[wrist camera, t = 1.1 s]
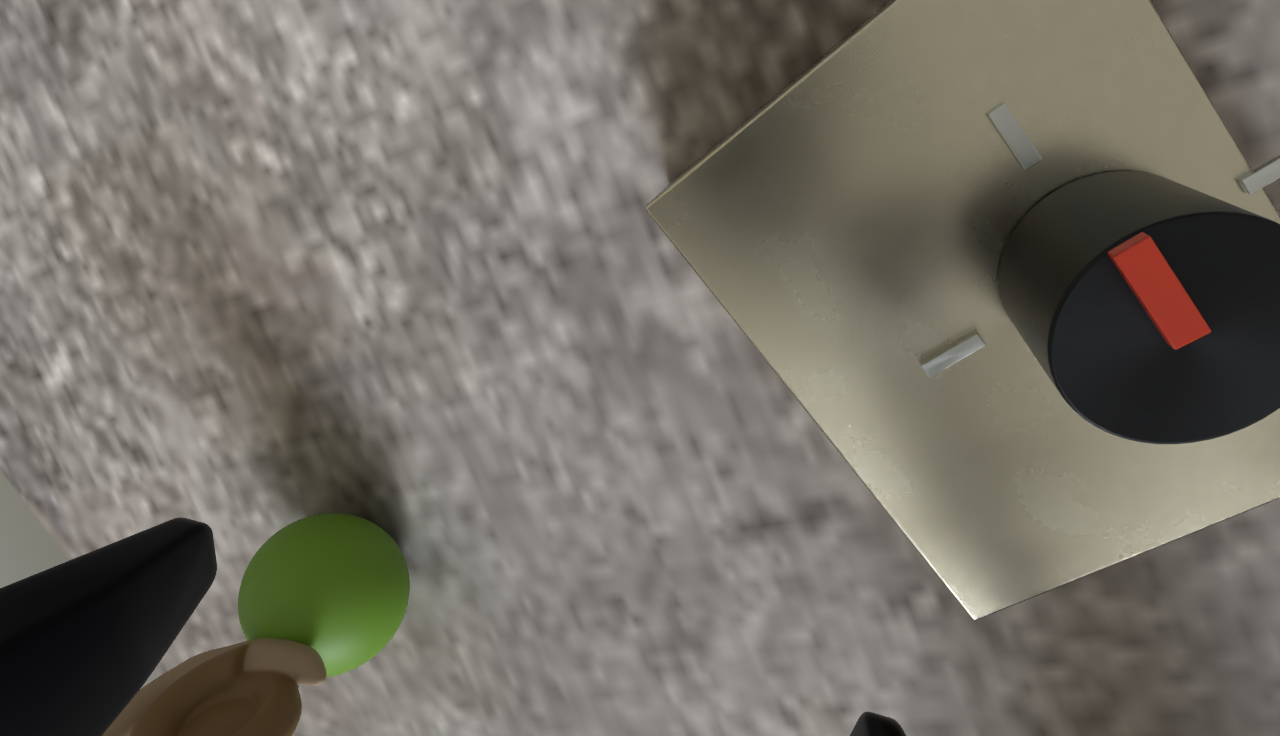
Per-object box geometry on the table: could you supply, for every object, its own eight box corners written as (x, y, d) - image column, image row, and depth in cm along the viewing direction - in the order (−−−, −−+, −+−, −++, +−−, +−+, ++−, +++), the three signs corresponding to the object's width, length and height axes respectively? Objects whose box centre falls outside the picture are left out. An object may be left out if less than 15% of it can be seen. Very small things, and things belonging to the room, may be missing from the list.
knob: (1253, 287, 15) (1402, 373, 11) (1058, 388, 16) (1130, 493, 13) (1152, 127, 14) (1275, 159, 10) (960, 249, 16) (1005, 316, 12)
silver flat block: (1382, 360, 17) (1489, 422, 15) (955, 552, 22) (974, 626, 19) (1076, -154, 15) (1134, -199, 12) (667, 185, 20) (641, 209, 17)
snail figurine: (265, 484, 28) (-86, 764, 17) (414, 482, 26) (126, 791, 15) (312, 598, 30) (24, 912, 19) (452, 603, 28) (222, 951, 17)
